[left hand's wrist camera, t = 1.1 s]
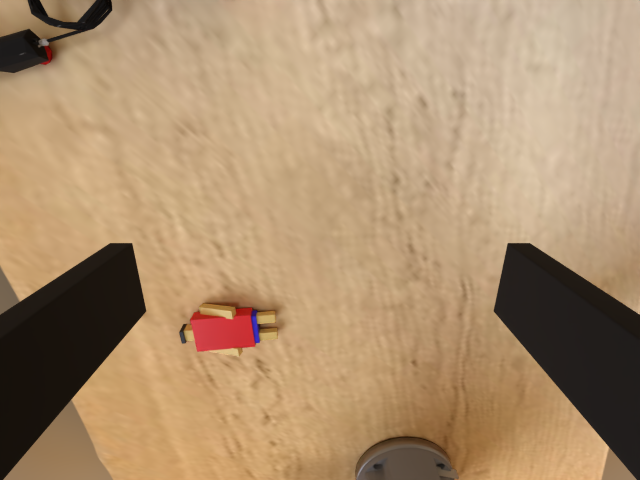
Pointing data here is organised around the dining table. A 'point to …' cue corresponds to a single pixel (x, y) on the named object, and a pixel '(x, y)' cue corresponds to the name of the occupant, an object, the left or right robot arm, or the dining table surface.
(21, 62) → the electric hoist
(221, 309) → the toy figure
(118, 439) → the dining table surface
